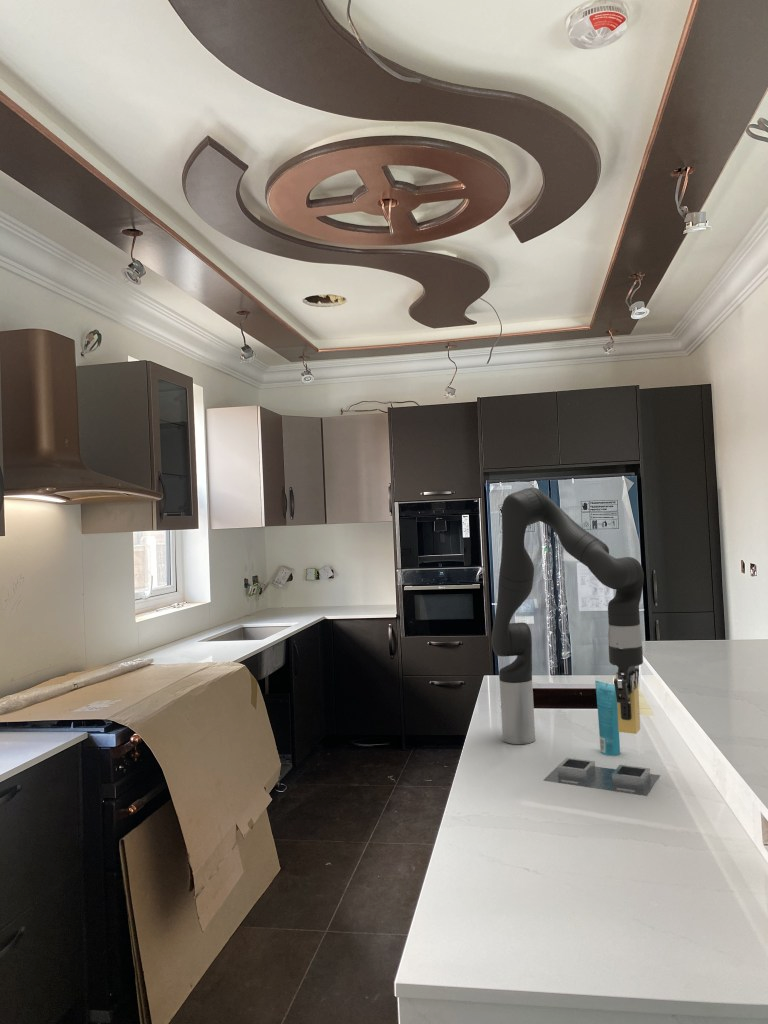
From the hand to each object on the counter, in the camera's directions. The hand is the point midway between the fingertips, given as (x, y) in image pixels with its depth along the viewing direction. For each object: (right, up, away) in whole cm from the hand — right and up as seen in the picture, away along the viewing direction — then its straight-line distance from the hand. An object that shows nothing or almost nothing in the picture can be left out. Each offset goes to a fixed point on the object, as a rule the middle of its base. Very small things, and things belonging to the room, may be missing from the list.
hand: (628, 716), depth 175 cm
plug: (0, -3, 0) cm, 3 cm away
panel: (-5, -17, +3) cm, 18 cm away
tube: (+2, -16, +21) cm, 27 cm away
